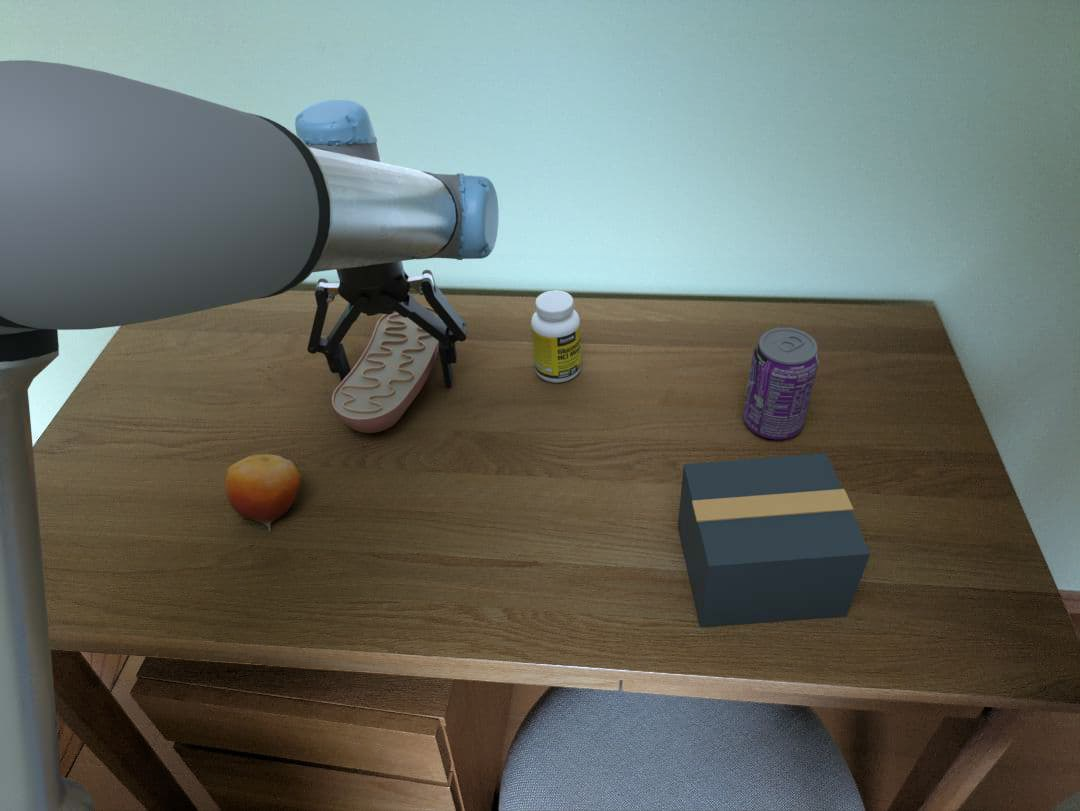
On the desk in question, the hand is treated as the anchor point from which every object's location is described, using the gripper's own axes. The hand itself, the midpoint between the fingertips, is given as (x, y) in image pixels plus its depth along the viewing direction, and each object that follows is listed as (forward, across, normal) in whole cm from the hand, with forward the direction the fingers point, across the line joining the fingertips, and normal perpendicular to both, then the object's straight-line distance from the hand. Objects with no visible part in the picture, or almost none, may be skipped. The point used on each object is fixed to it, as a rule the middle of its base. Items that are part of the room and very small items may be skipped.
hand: (399, 384), depth 102 cm
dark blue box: (0, -39, +33) cm, 51 cm away
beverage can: (0, -46, +12) cm, 48 cm away
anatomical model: (0, 0, 0) cm, 0 cm away
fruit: (0, +13, +19) cm, 23 cm away
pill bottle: (0, -21, -1) cm, 21 cm away
